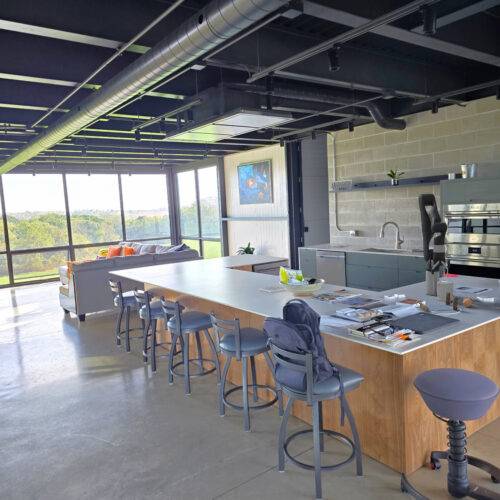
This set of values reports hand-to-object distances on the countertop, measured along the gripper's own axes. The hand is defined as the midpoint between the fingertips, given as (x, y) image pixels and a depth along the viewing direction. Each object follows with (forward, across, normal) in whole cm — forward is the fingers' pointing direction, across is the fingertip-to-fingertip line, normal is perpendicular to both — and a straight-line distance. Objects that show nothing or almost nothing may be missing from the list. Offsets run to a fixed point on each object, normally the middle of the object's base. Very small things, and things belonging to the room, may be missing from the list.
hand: (439, 274), depth 302 cm
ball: (+15, -10, +24) cm, 30 cm away
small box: (+18, -2, +6) cm, 19 cm away
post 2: (+18, 0, +30) cm, 35 cm away
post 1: (+18, 0, +17) cm, 25 cm away
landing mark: (+18, +9, +24) cm, 31 cm away
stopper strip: (+18, +19, +23) cm, 35 cm away
